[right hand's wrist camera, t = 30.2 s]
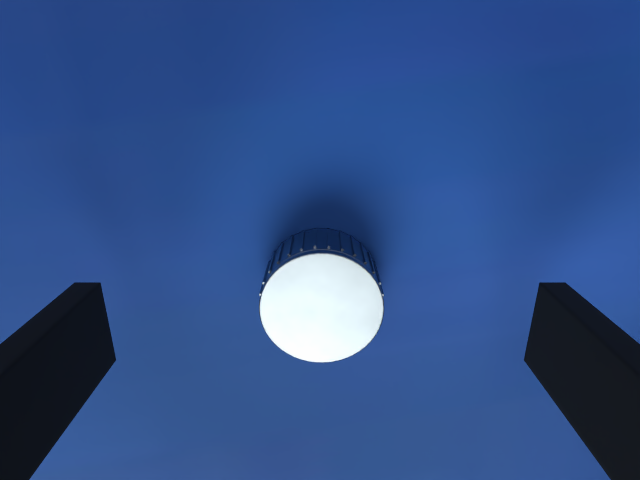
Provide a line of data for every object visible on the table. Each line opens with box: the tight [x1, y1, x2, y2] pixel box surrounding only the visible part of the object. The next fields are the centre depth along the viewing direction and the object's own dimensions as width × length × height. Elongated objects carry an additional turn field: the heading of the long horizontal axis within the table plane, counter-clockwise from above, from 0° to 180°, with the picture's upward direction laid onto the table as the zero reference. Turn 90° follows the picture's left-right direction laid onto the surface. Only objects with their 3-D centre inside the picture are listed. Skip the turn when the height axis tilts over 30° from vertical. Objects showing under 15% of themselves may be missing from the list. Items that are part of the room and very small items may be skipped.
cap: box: [259, 228, 384, 363], centre depth 15 cm, size 4×4×2 cm
